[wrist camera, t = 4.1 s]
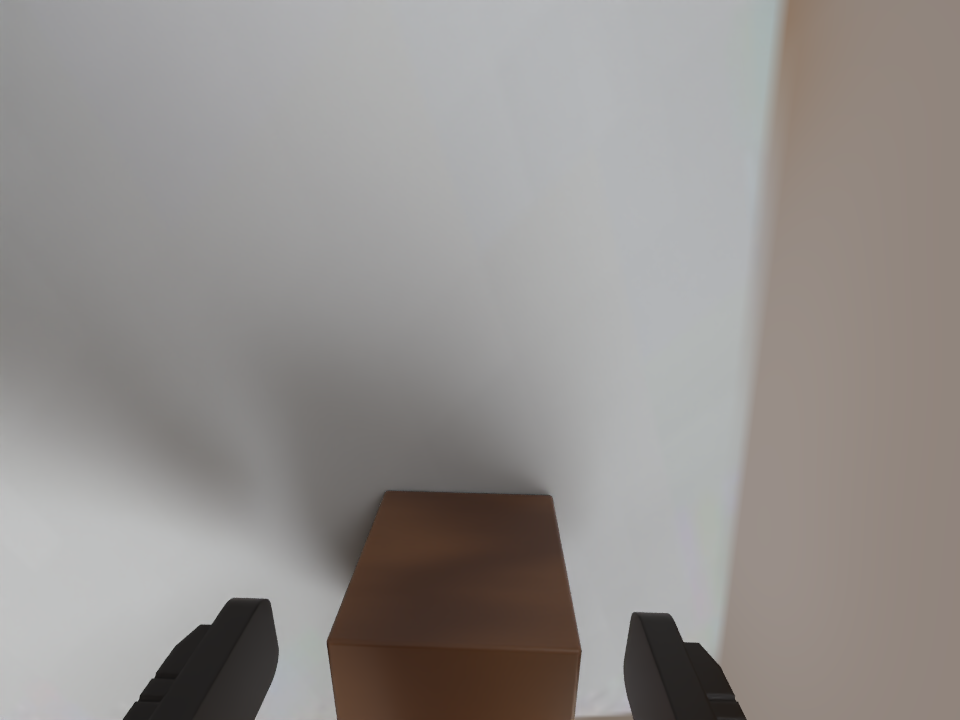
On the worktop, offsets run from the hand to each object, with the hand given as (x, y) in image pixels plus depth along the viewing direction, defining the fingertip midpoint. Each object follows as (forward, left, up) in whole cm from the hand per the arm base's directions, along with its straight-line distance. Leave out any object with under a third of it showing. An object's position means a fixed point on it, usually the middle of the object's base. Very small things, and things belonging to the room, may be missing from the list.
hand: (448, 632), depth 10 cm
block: (0, 0, -3) cm, 3 cm away
